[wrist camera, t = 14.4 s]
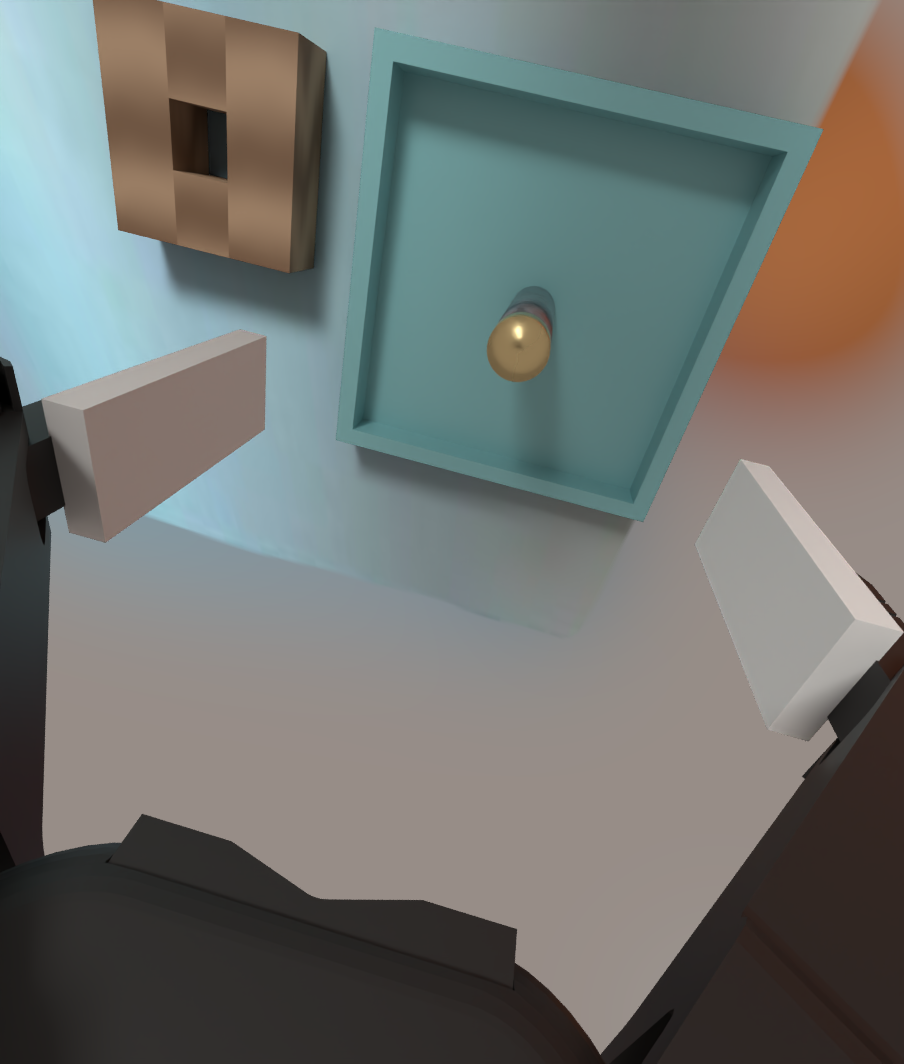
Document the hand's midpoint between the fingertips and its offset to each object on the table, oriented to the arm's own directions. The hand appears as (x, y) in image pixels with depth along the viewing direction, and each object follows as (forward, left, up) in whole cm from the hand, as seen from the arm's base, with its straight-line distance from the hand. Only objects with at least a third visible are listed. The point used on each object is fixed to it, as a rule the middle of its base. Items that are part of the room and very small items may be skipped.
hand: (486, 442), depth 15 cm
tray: (0, 0, -26) cm, 27 cm away
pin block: (-5, -22, -26) cm, 35 cm away
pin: (0, 0, -26) cm, 26 cm away
